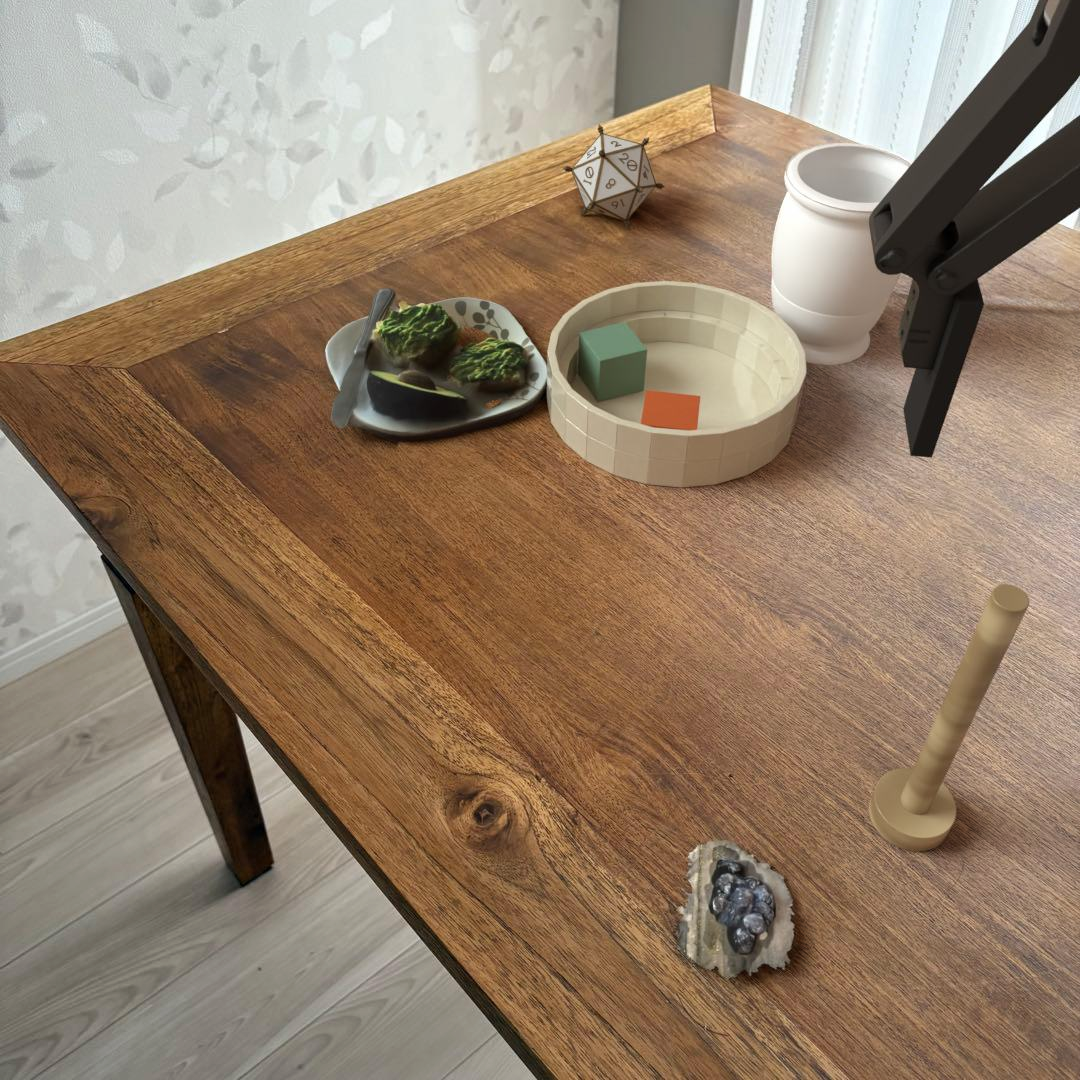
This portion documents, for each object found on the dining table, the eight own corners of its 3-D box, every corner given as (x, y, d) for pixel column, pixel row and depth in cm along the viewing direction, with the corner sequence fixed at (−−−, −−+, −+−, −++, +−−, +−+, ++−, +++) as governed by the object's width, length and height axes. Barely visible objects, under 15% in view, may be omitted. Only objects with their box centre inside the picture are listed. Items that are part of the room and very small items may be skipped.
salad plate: (292, 324, 95) (284, 278, 91) (491, 285, 99) (489, 239, 96) (344, 468, 82) (337, 419, 79) (569, 415, 86) (571, 367, 83)
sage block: (644, 390, 88) (647, 349, 85) (597, 402, 87) (600, 360, 84) (622, 362, 90) (625, 321, 87) (577, 373, 89) (578, 332, 86)
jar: (872, 388, 89) (919, 219, 78) (745, 363, 91) (773, 195, 81) (888, 316, 96) (932, 152, 85) (769, 294, 98) (798, 131, 88)
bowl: (790, 347, 93) (801, 290, 89) (797, 504, 80) (811, 446, 76) (562, 328, 95) (563, 272, 91) (532, 480, 81) (532, 422, 77)
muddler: (961, 807, 62) (1076, 588, 49) (931, 866, 60) (1045, 651, 47) (887, 768, 64) (979, 546, 51) (855, 824, 62) (944, 605, 48)
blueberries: (687, 994, 55) (691, 978, 54) (647, 849, 61) (649, 832, 59) (817, 970, 56) (824, 953, 55) (765, 829, 61) (770, 811, 60)
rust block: (694, 437, 84) (700, 395, 81) (691, 472, 81) (697, 430, 78) (642, 431, 84) (645, 389, 81) (636, 466, 81) (640, 424, 79)
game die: (628, 245, 111) (697, 171, 105) (590, 255, 104) (662, 176, 98) (570, 178, 112) (636, 101, 106) (530, 183, 105) (598, 101, 99)
